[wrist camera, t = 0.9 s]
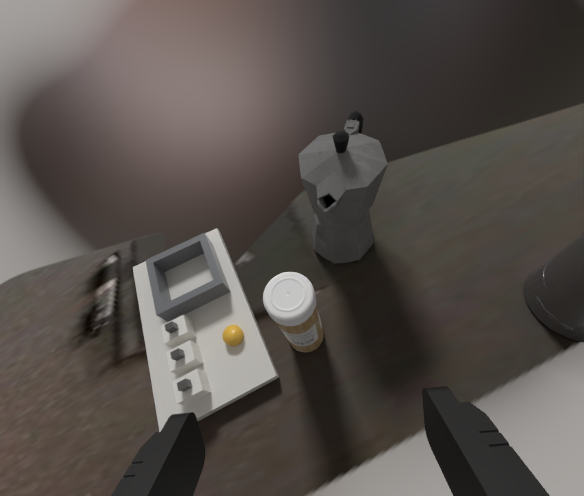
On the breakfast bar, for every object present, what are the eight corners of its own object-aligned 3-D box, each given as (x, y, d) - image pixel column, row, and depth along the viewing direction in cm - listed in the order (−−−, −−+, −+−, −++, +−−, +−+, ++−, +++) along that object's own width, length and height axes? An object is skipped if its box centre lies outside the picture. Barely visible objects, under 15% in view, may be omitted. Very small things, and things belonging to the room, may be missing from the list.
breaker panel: (220, 233, 46) (207, 214, 42) (279, 377, 34) (269, 370, 29) (138, 271, 45) (117, 255, 40) (167, 437, 32) (140, 439, 28)
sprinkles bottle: (326, 319, 36) (318, 273, 25) (320, 356, 34) (309, 324, 23) (291, 314, 37) (268, 267, 26) (284, 350, 35) (255, 315, 24)
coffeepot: (365, 284, 38) (379, 192, 23) (298, 269, 41) (271, 178, 26) (384, 197, 45) (405, 83, 30) (326, 189, 48) (318, 81, 33)
